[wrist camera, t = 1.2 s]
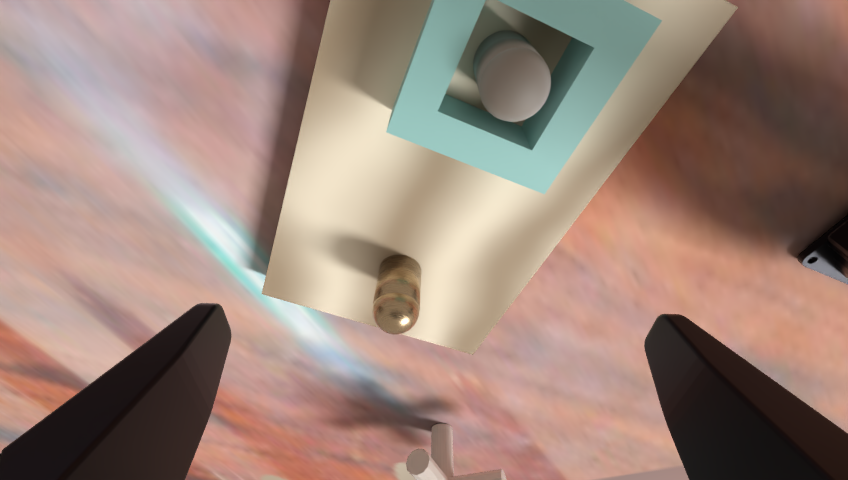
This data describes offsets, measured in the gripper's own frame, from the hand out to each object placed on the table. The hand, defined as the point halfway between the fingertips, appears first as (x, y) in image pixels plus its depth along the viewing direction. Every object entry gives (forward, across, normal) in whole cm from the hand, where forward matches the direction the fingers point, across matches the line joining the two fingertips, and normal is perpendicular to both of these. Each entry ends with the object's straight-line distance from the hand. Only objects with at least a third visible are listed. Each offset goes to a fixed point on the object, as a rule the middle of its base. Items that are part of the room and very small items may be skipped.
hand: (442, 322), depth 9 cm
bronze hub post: (+12, +1, +9) cm, 15 cm away
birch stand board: (+13, -1, +3) cm, 14 cm away
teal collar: (+12, -3, -2) cm, 12 cm away
